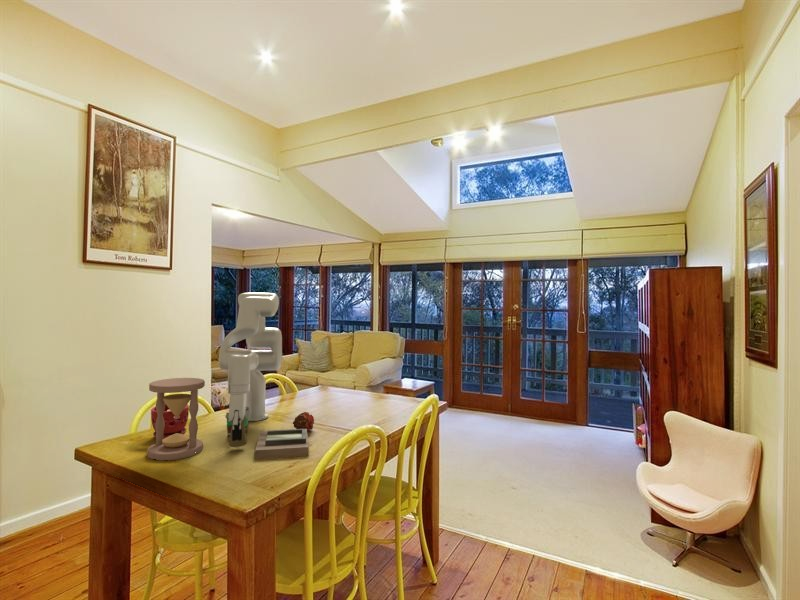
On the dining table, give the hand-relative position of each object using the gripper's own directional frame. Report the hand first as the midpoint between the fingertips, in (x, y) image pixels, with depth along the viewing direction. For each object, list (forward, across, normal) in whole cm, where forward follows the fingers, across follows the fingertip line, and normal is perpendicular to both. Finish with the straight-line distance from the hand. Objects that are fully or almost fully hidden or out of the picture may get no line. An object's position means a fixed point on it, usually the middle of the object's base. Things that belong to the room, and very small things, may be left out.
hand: (237, 437), depth 151 cm
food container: (+5, -19, -1) cm, 20 cm away
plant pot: (+5, -21, -28) cm, 36 cm away
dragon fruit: (+5, -19, +24) cm, 31 cm away
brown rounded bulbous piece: (+3, 0, 0) cm, 3 cm away
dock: (+4, 0, +16) cm, 17 cm away
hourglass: (+5, -2, -21) cm, 22 cm away
